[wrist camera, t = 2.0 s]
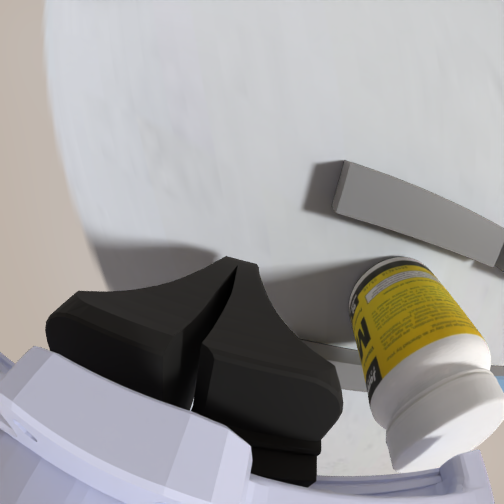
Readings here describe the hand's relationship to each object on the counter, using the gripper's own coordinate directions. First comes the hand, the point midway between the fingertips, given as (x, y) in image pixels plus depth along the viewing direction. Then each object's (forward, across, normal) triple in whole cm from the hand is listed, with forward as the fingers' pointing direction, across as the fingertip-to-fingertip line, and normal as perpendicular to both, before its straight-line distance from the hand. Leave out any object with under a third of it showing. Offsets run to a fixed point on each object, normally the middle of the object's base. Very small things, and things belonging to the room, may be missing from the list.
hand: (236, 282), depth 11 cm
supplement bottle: (+2, -8, 0) cm, 8 cm away
